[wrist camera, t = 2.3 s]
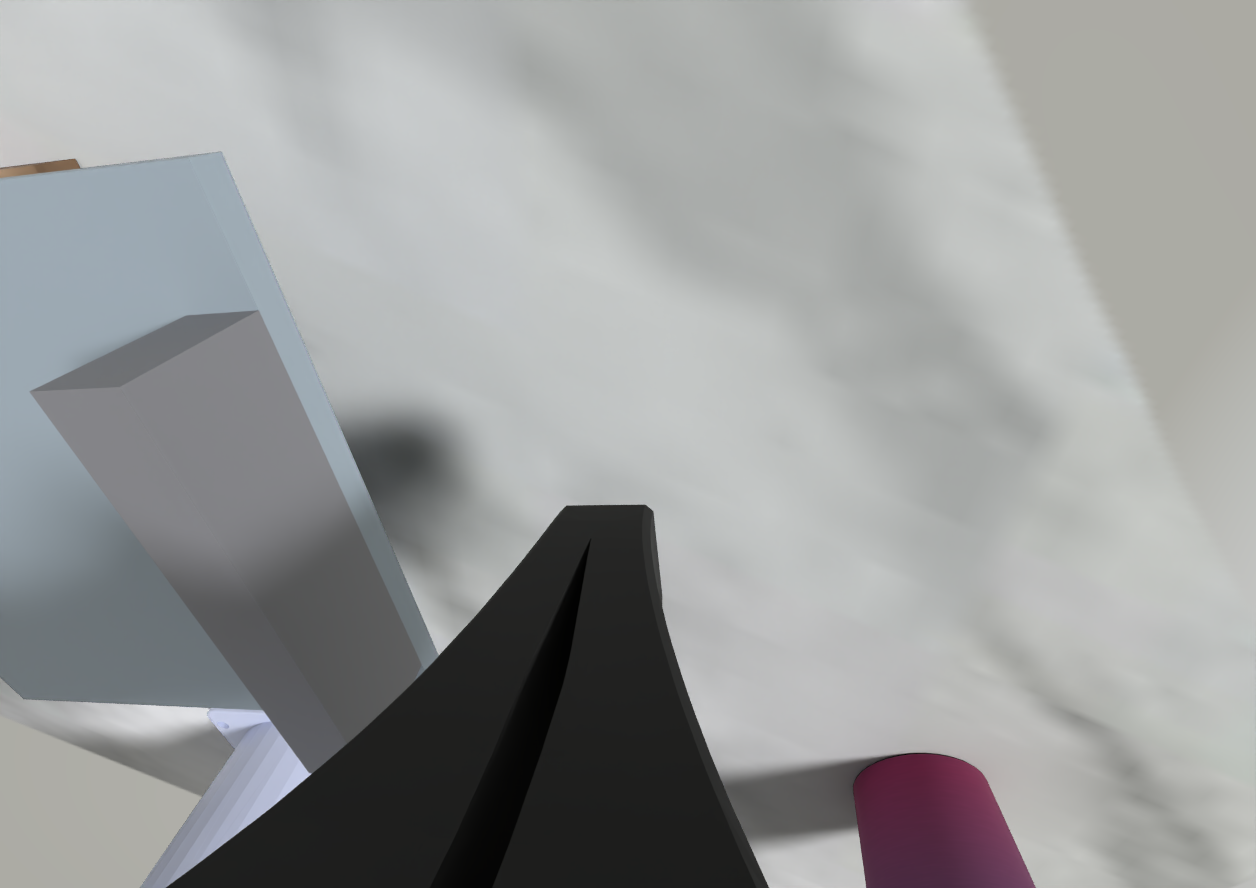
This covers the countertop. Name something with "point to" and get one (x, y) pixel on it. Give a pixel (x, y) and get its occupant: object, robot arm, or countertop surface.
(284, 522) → the lid
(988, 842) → the cup
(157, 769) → the countertop surface
